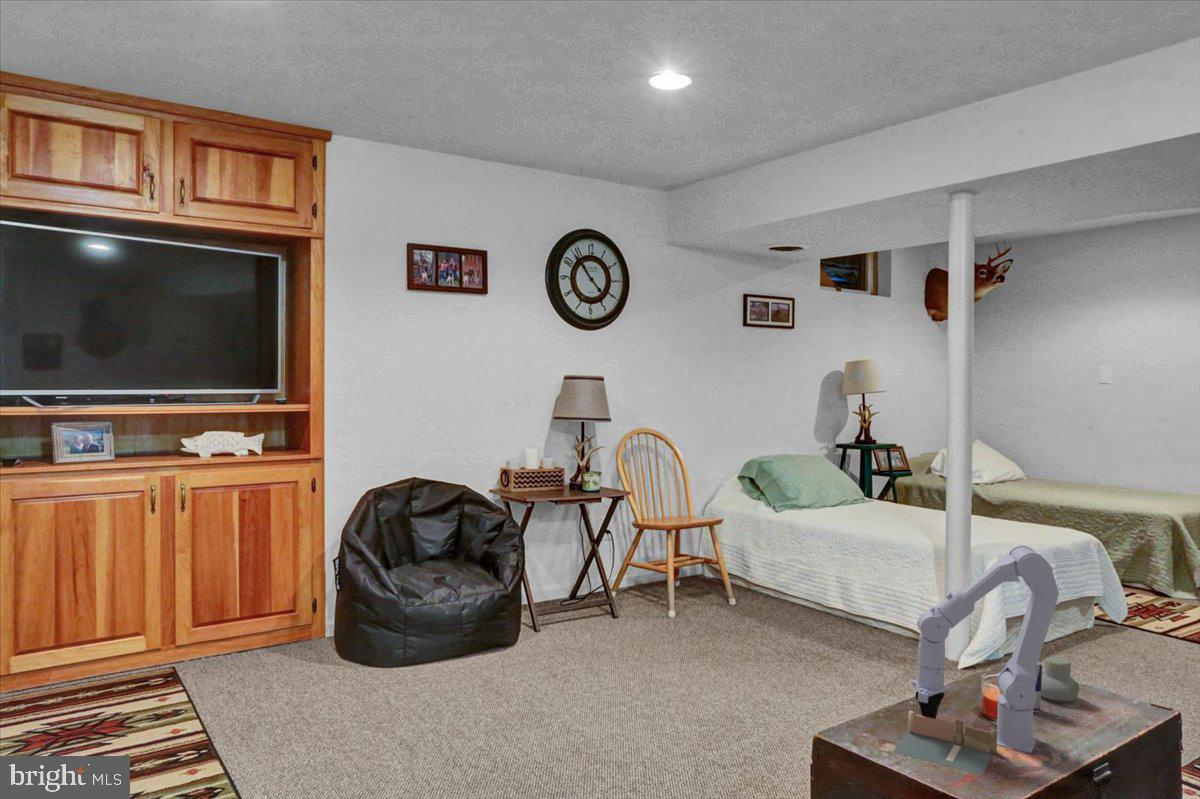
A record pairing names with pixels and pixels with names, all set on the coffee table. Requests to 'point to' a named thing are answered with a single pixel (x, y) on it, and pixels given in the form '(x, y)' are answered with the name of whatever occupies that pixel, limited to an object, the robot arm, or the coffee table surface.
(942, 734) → the fence panel
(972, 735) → the fence frame
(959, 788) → the coffee table surface
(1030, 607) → the robot arm
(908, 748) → the card
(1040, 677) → the energy drink
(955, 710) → the coffee table surface
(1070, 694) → the grey l-shaped piece
